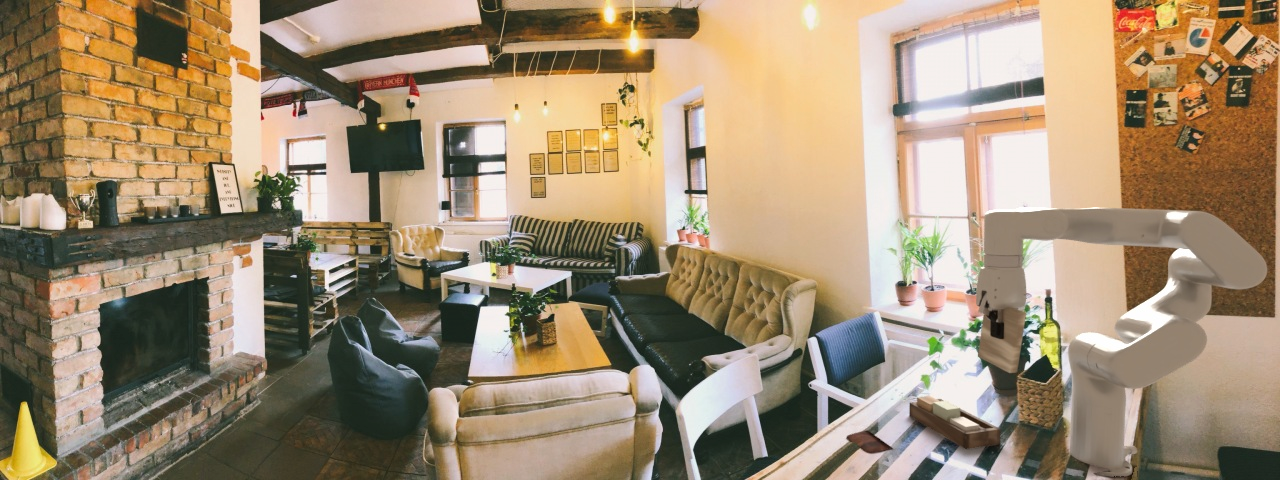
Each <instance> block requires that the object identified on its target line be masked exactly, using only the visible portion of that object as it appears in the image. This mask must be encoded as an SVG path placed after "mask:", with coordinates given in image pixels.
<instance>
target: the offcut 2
mask: <svg viewBox="0 0 1280 480" xmlns="http://www.w3.org/2000/svg"><path fill="white" fill-rule="evenodd" d="M950 423H951V424H953V425H955V426H957V427H959V428H960V429H962V430H964V431H966V432H968V431H975V430H979V425H978V424H976V423H974V422H972V421H970V420H969V419H967V418H965V417H958V418H951V419H950Z"/></svg>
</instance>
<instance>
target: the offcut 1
mask: <svg viewBox="0 0 1280 480" xmlns="http://www.w3.org/2000/svg"><path fill="white" fill-rule="evenodd" d="M936 399H937V398H934V397H932V396H930V395H927V396H919V397H917V399H916V402H917V405H918V406H920V407H922V408H924V409H926V410H928V411H929V412H931V413H933V402H940V401H938V400H936Z"/></svg>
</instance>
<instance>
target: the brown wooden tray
mask: <svg viewBox="0 0 1280 480" xmlns="http://www.w3.org/2000/svg"><path fill="white" fill-rule="evenodd" d="M935 399H936V400H938V401H945V400H943V399H942V398H935ZM908 414H909V417H911V418H912V419H913V420H915V421H917V422H919V423H921V424H922V425H924V426H926V427H927V428H929V429H930V430H932V431H934V432H935V433H937V434H938V435H941V436H942V437H944V438H946V439H948V440H949V441H951V442H952V443H955V444H956V445H958V446H959V447H961V448H962V449H964V450H971V449H977V448H978V449H979V448H984V447H990V446H997V445H1001V431H1002V430H1001V428H999V427H998V426H995V425H993V424H991V423H989V422H987V421H985V420H983V419H982V418H980V417H977V416H975V415H973V414H971V413H970V412H967V411H965V410H964V409H961V408H960V417H965V418H967V419H969V420H970V421H972V422H974V423H976V424H978V425H979V430H975V431H968V432H966V431H964V430H962V429H960V428H959V427H957V426H955V425H953V424H951V423H949V422H948V421H946V420H944V419H942V418H940V417H938V416H937V415H935V414H933V413H931V412H929V411H928V410H926V409H924V408H922V407H920V406H918V405H917V401H913V402H909V413H908Z"/></svg>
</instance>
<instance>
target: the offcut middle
mask: <svg viewBox="0 0 1280 480" xmlns="http://www.w3.org/2000/svg"><path fill="white" fill-rule="evenodd" d="M960 409H961V407H959V406H958V405H955V404H953V403H951V402H949V401H947V400H944V401H940V402H933V414H935V415H937V416H938V417H940V418H942V419H944V420H946V421H948V422H949V423H950V419H951V418H958V417H960Z"/></svg>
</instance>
